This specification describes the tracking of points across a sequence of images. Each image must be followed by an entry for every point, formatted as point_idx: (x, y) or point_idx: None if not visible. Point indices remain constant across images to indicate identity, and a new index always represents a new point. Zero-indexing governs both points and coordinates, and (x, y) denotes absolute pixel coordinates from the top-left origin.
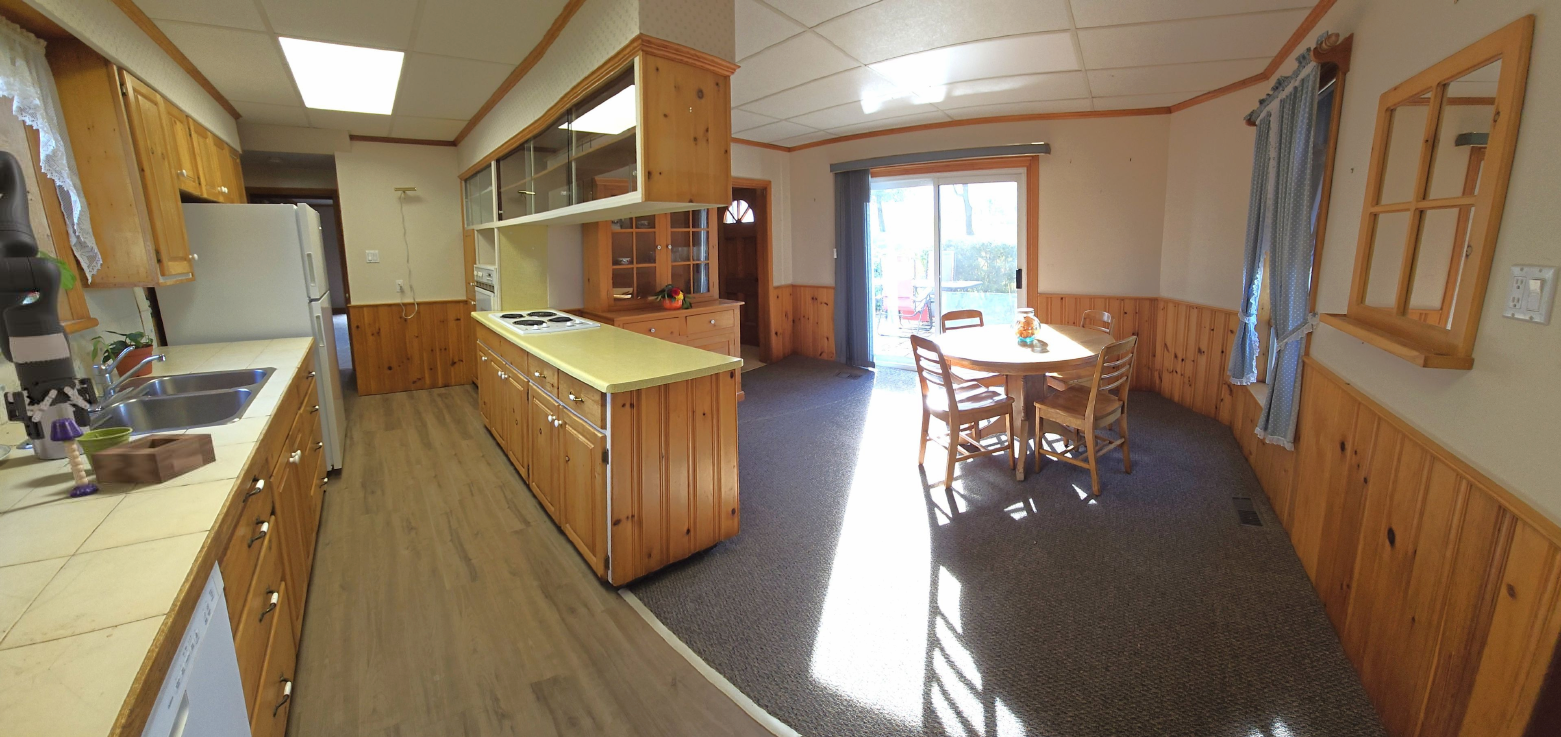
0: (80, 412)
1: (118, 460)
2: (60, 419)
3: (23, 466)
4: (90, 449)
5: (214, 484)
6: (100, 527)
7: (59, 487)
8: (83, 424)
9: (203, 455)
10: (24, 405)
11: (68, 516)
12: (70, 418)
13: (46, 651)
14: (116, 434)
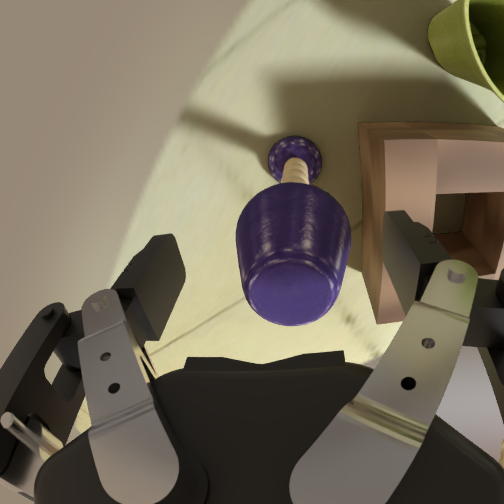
0: (409, 298)
1: (378, 220)
2: (299, 277)
3: None
4: (456, 36)
5: (348, 355)
6: (178, 342)
7: (323, 45)
8: (385, 253)
9: None
10: (66, 428)
11: (188, 264)
12: (320, 313)
13: (87, 418)
14: None
